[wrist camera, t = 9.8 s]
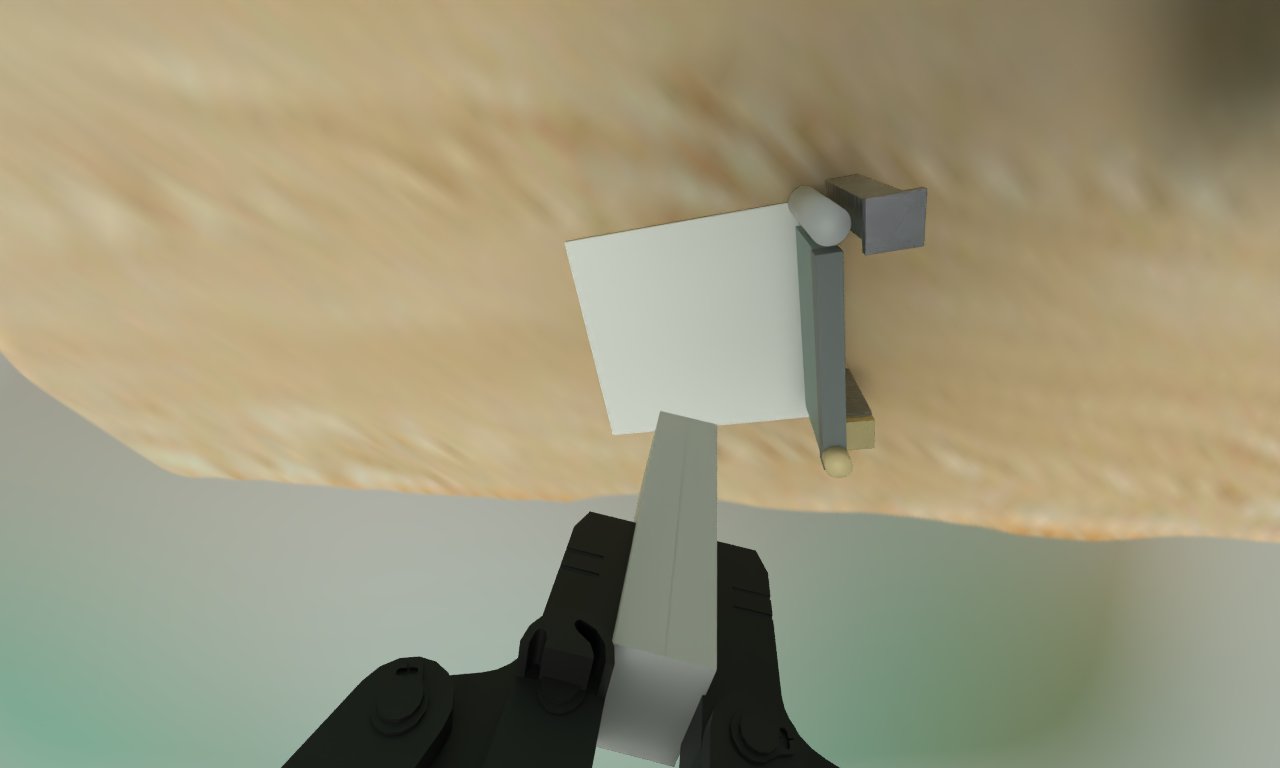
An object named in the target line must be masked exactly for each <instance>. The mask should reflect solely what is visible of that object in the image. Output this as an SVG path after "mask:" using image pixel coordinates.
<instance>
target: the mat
mask: <svg viewBox="0 0 1280 768" xmlns="http://www.w3.org/2000/svg"><path fill="white" fill-rule="evenodd" d="M795 226H801V224H800V223H799V222H798V221H797V219H796V218H795V217H794V216H793V214H792V213H791V212H790V210H789V208H788V202H787V203H781V204H775V205H770V206H764V207H758V208H753V209H747V210H741V211H736V212H730V213H724V214H719V215H713V216H707V217H702V218H696V219H690V220H685V221H679V222H673V223H668V224H662V225H657V226H651V227H645V228H640V229H634V230H628V231H623V232H617V233H611V234H606V235H600V236H594V237H589V238H583V239H577V240H572V241H566V242H565V247H566V251H567V255H568V259H569V263H570V267H571V271H572V275H573V279H574V282H575V286H576V290H577V294H578V298H579V302H580V306H581V310H582V314H583V318H584V322H585V326H586V330H587V334H588V338H589V342H590V346H591V350H592V354H593V358H594V362H595V366H596V370H597V374H598V378H599V382H600V385H601V389H602V393H603V397H604V401H605V405H606V409H607V413H608V417H609V421H610V425H611V429H612V433H613V435H619V434H630V433H641V432H651V431H655V429H656V425H657V421H658V417H659V413H660V411H663V412H667V413H671V414H676V415H680V416H684V417H688V418H692V419H697V420H701V421H705V422H709V423H713V424H717V425H728V424H739V423H750V422H761V421H772V420H783V419H794V418H805V417H809V414H808V411H807V408H806V402H805V384H804V367H803V349H802V332H801V314H800V297H799V280H798V262H797V245H796V227H795Z"/></svg>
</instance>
